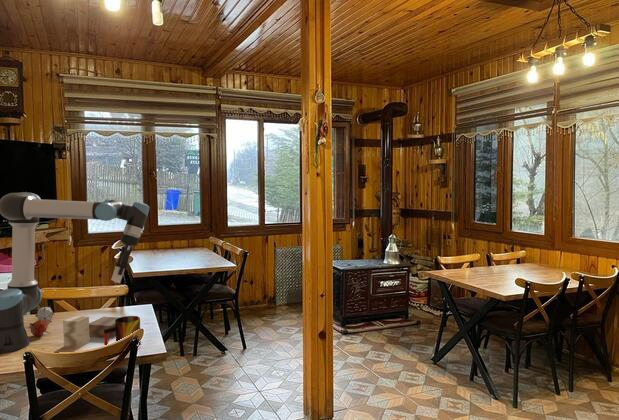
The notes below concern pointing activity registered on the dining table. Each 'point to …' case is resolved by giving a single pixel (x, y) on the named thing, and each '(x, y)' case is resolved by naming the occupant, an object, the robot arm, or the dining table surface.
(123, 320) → the mug
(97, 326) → the walnut block
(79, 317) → the maple block
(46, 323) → the pomegranate
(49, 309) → the game die
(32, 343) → the dining table surface
